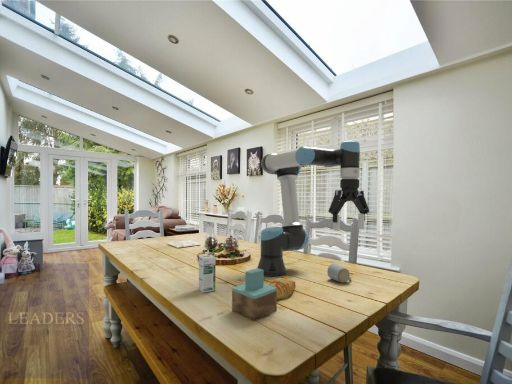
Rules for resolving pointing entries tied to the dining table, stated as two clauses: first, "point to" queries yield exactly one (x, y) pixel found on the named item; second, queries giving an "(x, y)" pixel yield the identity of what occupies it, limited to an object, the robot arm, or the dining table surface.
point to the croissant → (283, 287)
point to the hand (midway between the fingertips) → (349, 229)
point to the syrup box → (207, 273)
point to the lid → (254, 285)
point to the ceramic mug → (338, 273)
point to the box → (254, 305)
